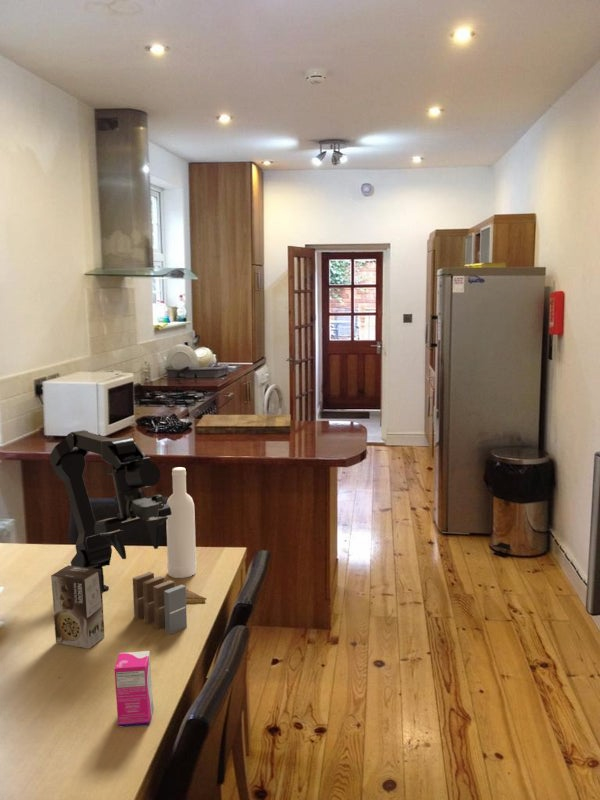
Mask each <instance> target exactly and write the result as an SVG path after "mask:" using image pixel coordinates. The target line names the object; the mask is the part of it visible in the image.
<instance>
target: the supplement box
mask: <svg viewBox="0 0 600 800" xmlns="http://www.w3.org/2000/svg"><path fill="white" fill-rule="evenodd" d="M150 653H151V652H150V650H144V651H143V650H142V651H133V652H131V651H130V652H119V654H118V656H117V659H116V662H115V666H114V669H113V671H114V683H115V696H116V710H117V711H116V713H117V724H118V725H117V726H118V727H119V726H124V727H136V726H135V725H141V726H149V725H151V721H152V716H153V714H154V713H153V712H154V698H153V683H152V682H153V681H152V669H151V668H152V667H151V654H150Z"/></svg>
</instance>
